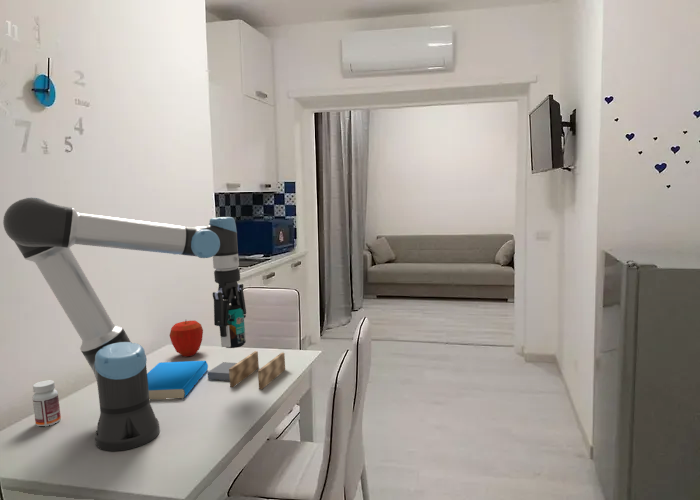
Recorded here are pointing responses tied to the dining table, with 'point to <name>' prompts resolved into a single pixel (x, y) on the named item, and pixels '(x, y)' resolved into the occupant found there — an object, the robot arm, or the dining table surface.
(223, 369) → the stand
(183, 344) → the apple
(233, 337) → the beverage can
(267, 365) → the slot rack
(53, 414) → the pill bottle
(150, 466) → the dining table surface
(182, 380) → the book
